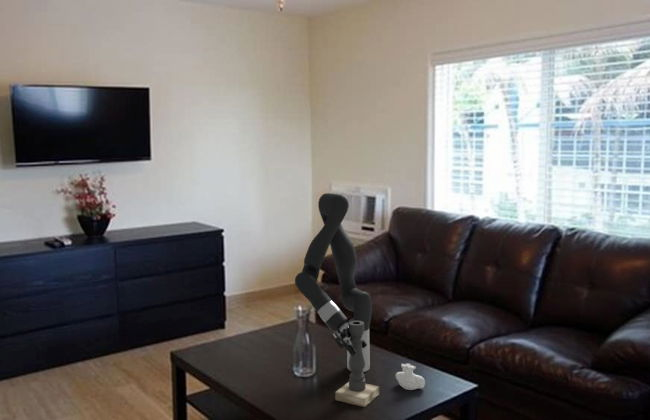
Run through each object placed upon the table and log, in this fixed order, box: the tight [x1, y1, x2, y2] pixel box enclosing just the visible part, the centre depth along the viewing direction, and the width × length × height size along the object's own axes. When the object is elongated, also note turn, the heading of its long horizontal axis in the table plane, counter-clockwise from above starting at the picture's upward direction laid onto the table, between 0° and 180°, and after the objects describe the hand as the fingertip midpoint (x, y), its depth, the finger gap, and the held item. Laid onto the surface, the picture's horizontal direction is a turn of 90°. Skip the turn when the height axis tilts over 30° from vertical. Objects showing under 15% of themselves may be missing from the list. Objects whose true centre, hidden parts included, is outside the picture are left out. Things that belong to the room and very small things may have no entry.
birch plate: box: [334, 381, 380, 408], centre depth 220 cm, size 12×12×3 cm
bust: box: [395, 363, 426, 391], centre depth 226 cm, size 12×8×11 cm
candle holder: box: [348, 321, 367, 392], centre depth 219 cm, size 6×6×25 cm
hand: (360, 350), depth 217 cm, fingers open, 8 cm apart
